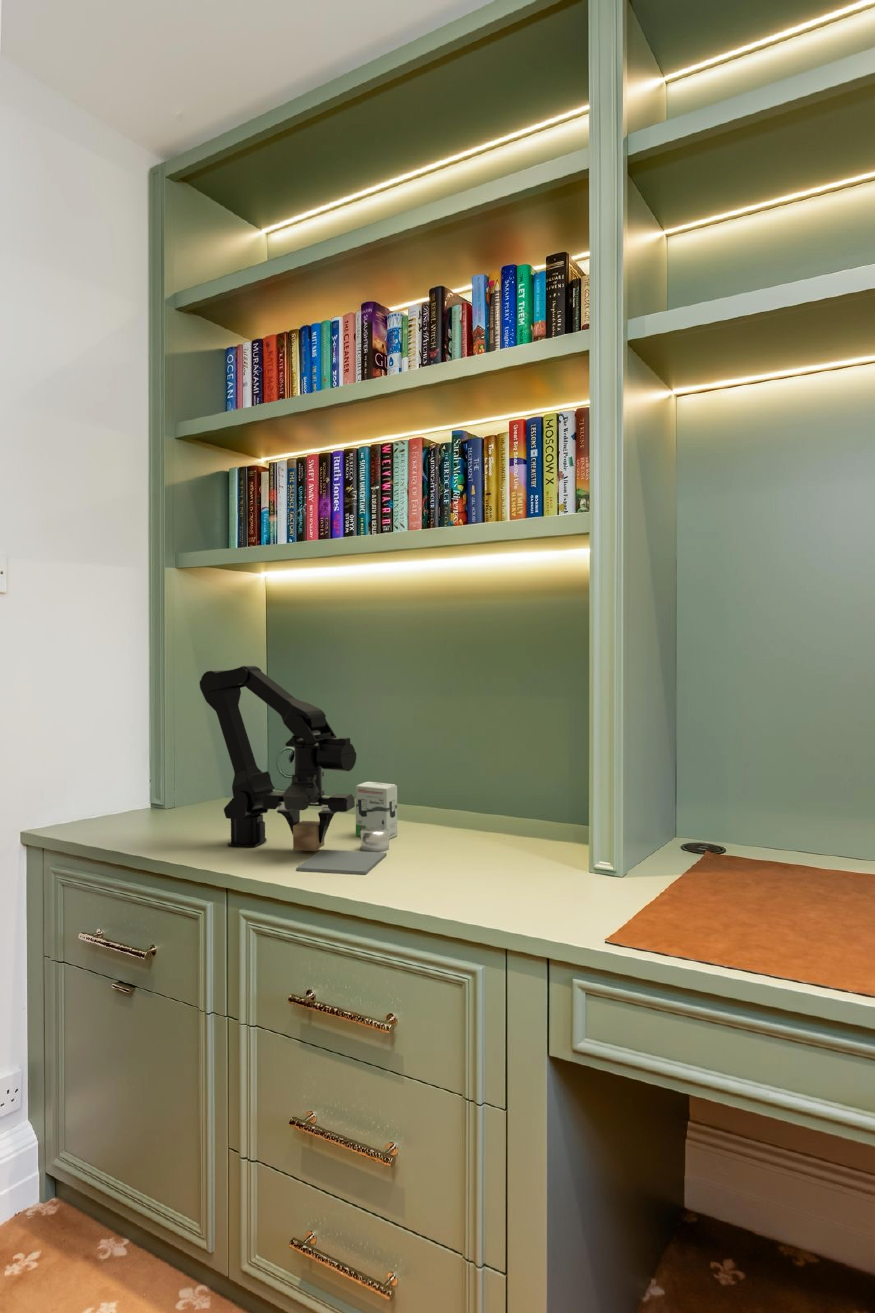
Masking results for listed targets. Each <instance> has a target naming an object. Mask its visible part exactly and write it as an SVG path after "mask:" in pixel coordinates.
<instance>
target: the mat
mask: <svg viewBox="0 0 875 1313" xmlns="http://www.w3.org/2000/svg"><path fill="white" fill-rule="evenodd" d="M386 857H387V852H364V851H362V850H360V851H357V850H342V849H341V850H340V849H338V850H337V849H336V850H335V849H321V850H319V851H317V852H316V853H315V854H314V855H312V856H311V857H310V858H308V859H306V860H304V862H302V863H301V864H299V865H298V866H296V868H295V871H296V872H312V873H314V872H315V873H330V874H331V873H332V874H345V875H367V874H368V873H369V872H370V871H372V869H374V868H375V867H376V866H377V865H378V864H379V863H381V861H383V859H385V858H386Z"/></svg>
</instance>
